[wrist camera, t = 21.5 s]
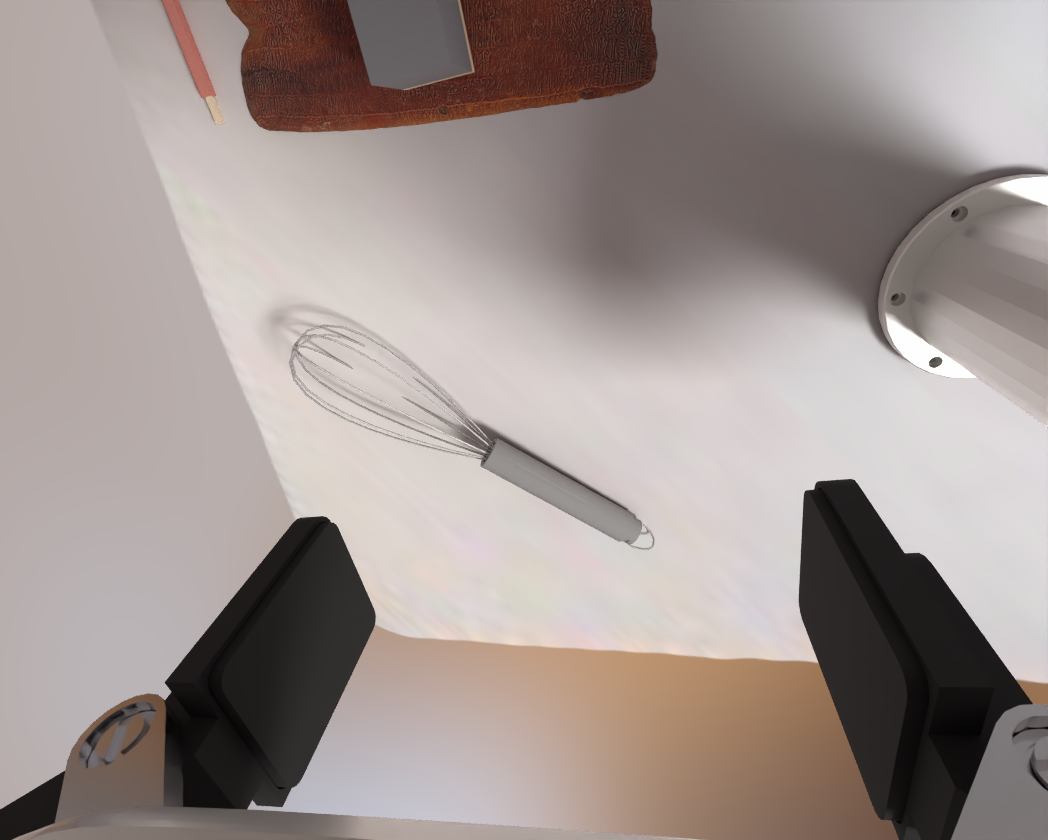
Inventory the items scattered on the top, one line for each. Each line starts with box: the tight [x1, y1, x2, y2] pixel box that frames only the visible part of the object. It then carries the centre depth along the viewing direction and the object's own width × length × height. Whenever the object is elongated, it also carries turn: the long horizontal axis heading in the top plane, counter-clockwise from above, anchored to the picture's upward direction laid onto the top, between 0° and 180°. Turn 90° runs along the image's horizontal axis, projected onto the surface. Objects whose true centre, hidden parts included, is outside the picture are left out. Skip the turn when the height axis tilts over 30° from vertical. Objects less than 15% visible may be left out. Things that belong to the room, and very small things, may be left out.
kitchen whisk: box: [289, 325, 655, 550], centre depth 43 cm, size 6×34×6 cm, turn 59°
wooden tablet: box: [226, 0, 657, 132], centre depth 32 cm, size 27×10×2 cm, turn 93°
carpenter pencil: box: [162, 0, 224, 124], centre depth 34 cm, size 1×12×1 cm, turn 11°
